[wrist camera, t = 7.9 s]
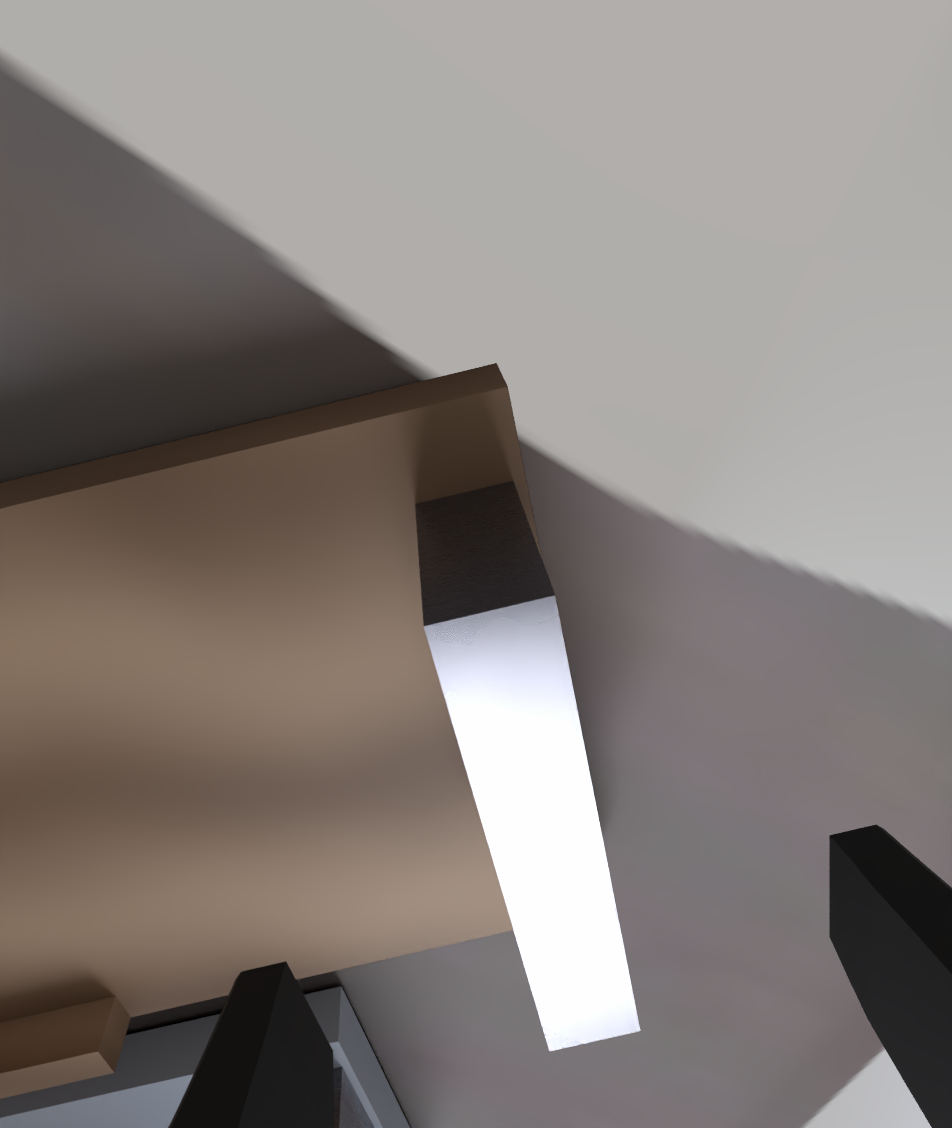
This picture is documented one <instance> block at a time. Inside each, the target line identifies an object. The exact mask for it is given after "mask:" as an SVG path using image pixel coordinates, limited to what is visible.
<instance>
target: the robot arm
mask: <svg viewBox="0 0 952 1128" xmlns="http://www.w3.org/2000/svg"><path fill="white" fill-rule="evenodd" d="M830 939H831V941H832V943H833V945H834V947H835V950H836V952H837V954H838V956H839V958H840V961H841V963H842V965H843V967H844V969H845V972H846V974H847V976H848V978H849V980H850V983H851V985H852V987H853V989H854V991H855V993H856V995H857V997H858V999H859V1001H860V1003H861V1006H862V1008H863V1010H864V1012H865V1014H866V1016H867V1018H868V1020H869V1022H870V1024H871V1025H872V1027H873V1029H874V1030H875V1032H876V1034H877V1036H878V1037H879V1039H880V1041H881V1043H882V1044H883V1046H884V1048H885V1049H886V1051H887V1052H888V1054H889V1056H890V1058H891V1059H892V1061H893V1063H894V1064H895V1066H896V1068H897V1070H898V1071H899V1073H900V1075H901V1076H902V1078H903V1080H904V1082H905V1083H906V1085H907V1087H908V1088H909V1090H910V1092H911V1093H912V1095H913V1097H914V1098H915V1100H916V1102H917V1103H918V1105H919V1107H920V1109H921V1110H922V1112H923V1113H924V1115H925V1117H926V1119H927V1120H928V1122H929V1124H930V1125H931V1127H932V1128H952V888H951V887H950V886H949V885H948V884H947V883H945V882H944V881H943V880H942V879H941V878H940V877H938V876H937V875H936V874H935V873H934V872H933V871H931V870H930V869H929V868H928V867H927V866H926V865H924V864H923V863H922V862H921V861H920V860H919V859H918V858H916V857H915V856H914V855H913V854H912V853H911V852H909V851H908V850H907V849H906V848H905V847H904V846H903V845H901V844H900V843H899V842H898V841H897V840H896V839H895V838H894V837H892V836H891V835H890V834H889V833H888V832H887V831H886V830H884V829H883V828H881V827H879V826H878V825H872V826H868V827H864V828H859V829H855V830H851V831H847V832H842V833H838V834H834V835H830ZM168 1128H335V1120H334V1067H333V1050H332V1048H331V1046H330V1044H329V1042H328V1040H327V1038H326V1036H325V1034H324V1032H323V1030H322V1029H321V1027H320V1025H319V1023H318V1021H317V1019H316V1017H315V1015H314V1013H313V1011H312V1009H311V1008H310V1006H309V1004H308V1002H307V1000H306V998H305V996H304V994H303V992H302V990H301V989H300V987H299V985H298V983H297V981H296V979H295V977H294V975H293V973H292V971H291V969H290V968H289V966H288V964H287V962H286V961H285V962H280V963H276V964H272V965H268V966H263V967H259V968H255V969H250V970H246V971H242V972H240V974H239V975H238V976H237V978H236V979H235V982H234V984H233V986H232V989H231V991H230V993H229V995H228V998H227V1000H226V1002H225V1005H224V1007H223V1009H222V1011H221V1014H220V1016H219V1018H218V1021H217V1023H216V1025H215V1027H214V1030H213V1032H212V1034H211V1037H210V1039H209V1041H208V1043H207V1046H206V1048H205V1050H204V1052H203V1054H202V1057H201V1059H200V1061H199V1063H198V1065H197V1068H196V1070H195V1072H194V1074H193V1076H192V1079H191V1081H190V1083H189V1085H188V1087H187V1089H186V1092H185V1094H184V1096H183V1098H182V1100H181V1102H180V1104H179V1106H178V1109H177V1111H176V1113H175V1115H174V1117H173V1119H172V1121H171V1123H170V1125H169V1127H168Z"/></svg>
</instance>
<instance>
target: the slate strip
mask: <svg viewBox="0 0 952 1128" xmlns="http://www.w3.org/2000/svg"><path fill="white" fill-rule="evenodd" d="M304 996H305V998H306V1000H307V1002H308V1004H309V1006H310V1008H311V1009H312V1011H313V1013H314V1015H315V1017H316V1019H317V1021H318V1023H319V1025H320V1027H321V1029H322V1030H323V1032H324V1034H325V1036H326V1038H327V1040H328V1042H329V1044H330V1046H331V1048H332V1050H333V1067H334V1120H335V1128H410V1127H409V1125H408V1123H407V1121H406V1118H405V1116H404V1114H403V1112H402V1110H401V1108H400V1106H399V1104H398V1102H397V1100H396V1098H395V1096H394V1094H393V1092H392V1090H391V1088H390V1086H389V1083H388V1081H387V1079H386V1077H385V1075H384V1073H383V1071H382V1069H381V1067H380V1065H379V1063H378V1061H377V1059H376V1057H375V1055H374V1053H373V1051H372V1048H371V1046H370V1044H369V1042H368V1040H367V1038H366V1036H365V1034H364V1032H363V1030H362V1028H361V1026H360V1024H359V1022H358V1020H357V1018H356V1016H355V1014H354V1011H353V1009H352V1007H351V1005H350V1003H349V1001H348V999H347V997H346V995H345V993H344V991H343V989H342V987H341V986H340V987H336V988H331V989H327V990H323V991H318V992H314V993H309V994H305V995H304ZM219 1016H220V1014H217V1015H213V1016H209V1017H204V1018H200V1019H195V1020H191V1021H187V1022H182V1023H178V1024H174V1025H169V1026H165V1027H160V1028H156V1029H152V1030H147V1031H143V1032H138V1033H134V1034H130V1035H125V1039H124V1042H123V1045H122V1049H121V1052H120V1056H119V1059H118V1063H117V1066H116V1069H115V1073H111V1074H107V1075H103V1076H98V1077H94V1078H89V1079H85V1080H81V1081H76V1082H72V1083H67V1084H63V1085H59V1086H54V1087H50V1088H45V1089H41V1090H37V1091H32V1092H28V1093H23V1094H19V1095H15V1096H10V1097H6V1098H1V1099H0V1128H168V1127H169V1125H170V1123H171V1121H172V1119H173V1117H174V1115H175V1113H176V1111H177V1109H178V1106H179V1104H180V1102H181V1100H182V1098H183V1096H184V1094H185V1092H186V1089H187V1087H188V1085H189V1083H190V1081H191V1079H192V1076H193V1074H194V1072H195V1070H196V1068H197V1065H198V1063H199V1061H200V1059H201V1057H202V1054H203V1052H204V1050H205V1048H206V1046H207V1043H208V1041H209V1039H210V1037H211V1034H212V1032H213V1030H214V1027H215V1025H216V1023H217V1021H218V1018H219Z"/></svg>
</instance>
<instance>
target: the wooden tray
mask: <svg viewBox="0 0 952 1128" xmlns="http://www.w3.org/2000/svg"><path fill="white" fill-rule="evenodd" d="M511 930H514V933H515V936H516V940H517V943H518V946H519V950H520V953H521V956H522V960H523V963H524V967H525V970H526V973H527V977H528V980H529V983H530V987H531V990H532V993H533V997H534V1000H535V1004H536V1007H537V1010H538V1014H539V1017H540V1020H541V1024H542V1027H543V1031H544V1034H545V1037H546V1041H547V1044H548V1047H549V1051H553V1050H558V1049H562V1048H567V1047H571V1046H576V1045H580V1044H584V1043H589V1042H593V1041H598V1040H602V1039H607V1038H611V1037H615V1036H620V1035H624V1034H629V1033H633V1032H638V1031H640V1027H639V1022H638V1017H637V1012H636V1007H635V1002H634V997H633V992H632V987H631V981H630V976H629V971H628V966H627V961H626V956H625V951H624V946H623V941H622V935H621V930H620V925H619V920H618V915H617V910H616V905H615V900H614V895H613V889H612V884H611V879H610V874H609V869H608V864H607V859H606V854H605V849H604V843H603V838H602V833H601V828H600V823H599V818H598V813H597V808H596V803H595V797H594V792H593V787H592V782H591V777H590V772H589V767H588V762H587V757H586V751H585V746H584V741H583V736H582V731H581V726H580V721H579V716H578V711H577V705H576V700H575V695H574V690H573V685H572V680H571V675H570V670H569V664H568V659H567V654H566V649H565V644H564V639H563V634H562V629H561V624H560V618H559V613H558V608H557V603H556V598H555V594H554V591H553V589H552V586H551V583H550V580H549V578H548V575H547V572H546V569H545V566H544V564H543V561H542V557H541V552H540V547H539V542H538V537H537V531H536V526H535V521H534V516H533V511H532V506H531V501H530V496H529V491H528V486H527V481H526V476H525V471H524V466H523V461H522V456H521V451H520V446H519V441H518V436H517V431H516V426H515V421H514V417H513V411H512V406H511V401H510V396H509V391H508V386H507V384H506V382H505V380H504V379H503V376H502V374H501V372H500V370H499V368H498V365H497V363H495V364H491V365H487V366H483V367H479V368H475V369H471V370H467V371H463V372H458V373H454V374H450V375H446V376H441V377H437V378H433V379H429V380H425V381H421V382H417V383H412V384H408V385H404V386H400V387H396V388H392V389H388V390H383V391H379V392H375V393H371V394H367V395H363V396H359V397H354V398H350V399H346V400H342V401H338V402H334V403H330V404H325V405H321V406H317V407H313V408H309V409H305V410H300V411H296V412H292V413H288V414H284V415H280V416H276V417H271V418H267V419H263V420H259V421H255V422H251V423H247V424H242V425H238V426H234V427H230V428H226V429H222V430H218V431H213V432H209V433H205V434H201V435H197V436H193V437H189V438H184V439H180V440H176V441H172V442H168V443H164V444H160V445H155V446H151V447H147V448H143V449H139V450H135V451H131V452H126V453H122V454H118V455H114V456H110V457H106V458H101V459H97V460H93V461H89V462H85V463H81V464H77V465H72V466H68V467H64V468H60V469H56V470H52V471H48V472H43V473H39V474H35V475H31V476H27V477H23V478H19V479H14V480H10V481H6V482H2V483H0V1099H1V1098H6V1097H10V1096H15V1095H19V1094H23V1093H28V1092H32V1091H37V1090H41V1089H45V1088H50V1087H54V1086H59V1085H63V1084H67V1083H72V1082H76V1081H81V1080H85V1079H89V1078H94V1077H98V1076H103V1075H107V1074H111V1073H115V1069H116V1066H117V1063H118V1059H119V1056H120V1052H121V1049H122V1045H123V1042H124V1039H125V1035H126V1032H127V1028H128V1025H129V1022H130V1018H131V1017H135V1016H139V1015H144V1014H148V1013H153V1012H157V1011H161V1010H166V1009H170V1008H174V1007H179V1006H183V1005H188V1004H192V1003H196V1002H201V1001H205V1000H209V999H214V998H218V997H223V996H227V995H229V993H230V991H231V989H232V986H233V984H234V982H235V979H236V978H237V976H238V975H239V974H240V972H242V971H246V970H250V969H255V968H259V967H263V966H268V965H272V964H276V963H280V962H285V961H286V962H287V964H288V966H289V968H290V969H291V971H292V973H293V975H294V977H295V979H296V980H297V979H301V978H306V977H310V976H315V975H319V974H323V973H328V972H332V971H336V970H341V969H345V968H350V967H354V966H358V965H363V964H367V963H371V962H376V961H380V960H385V959H389V958H393V957H398V956H402V955H406V954H411V953H415V952H420V951H424V950H428V949H433V948H437V947H441V946H446V945H450V944H455V943H459V942H463V941H468V940H472V939H476V938H481V937H485V936H490V935H494V934H498V933H503V932H507V931H511Z"/></svg>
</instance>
